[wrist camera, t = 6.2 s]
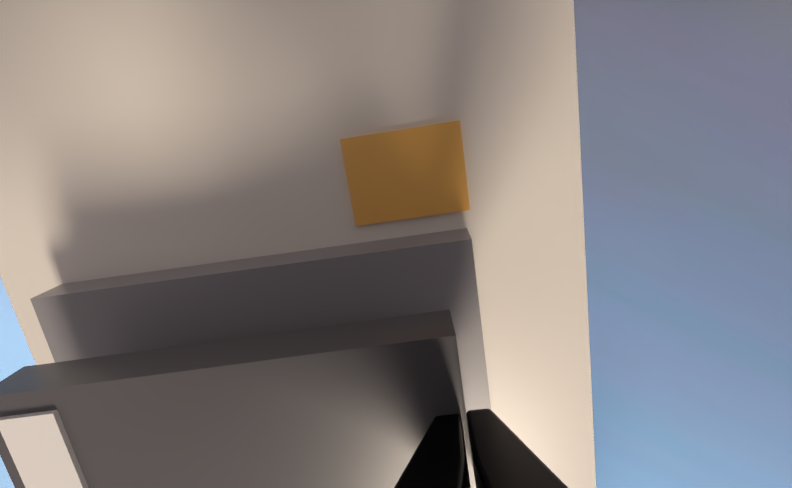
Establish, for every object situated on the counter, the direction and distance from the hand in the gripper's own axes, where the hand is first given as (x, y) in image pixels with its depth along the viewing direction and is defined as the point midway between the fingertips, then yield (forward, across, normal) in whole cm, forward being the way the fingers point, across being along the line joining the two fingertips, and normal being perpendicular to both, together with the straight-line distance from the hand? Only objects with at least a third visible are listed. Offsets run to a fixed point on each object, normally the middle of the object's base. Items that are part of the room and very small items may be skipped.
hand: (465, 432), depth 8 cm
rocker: (0, +4, 0) cm, 4 cm away
